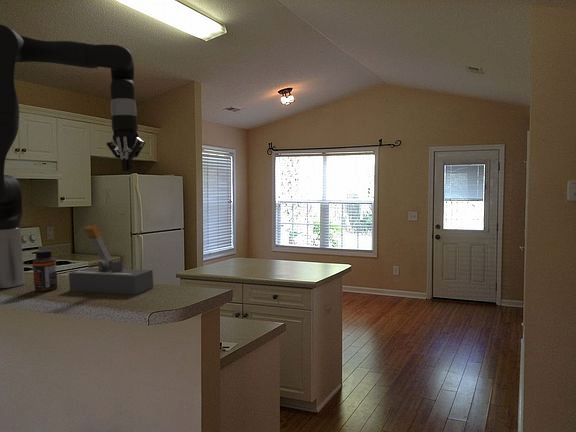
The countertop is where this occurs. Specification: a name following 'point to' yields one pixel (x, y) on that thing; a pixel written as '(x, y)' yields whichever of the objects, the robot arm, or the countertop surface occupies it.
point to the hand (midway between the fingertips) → (127, 171)
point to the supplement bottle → (44, 271)
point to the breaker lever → (99, 245)
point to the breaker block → (111, 279)
